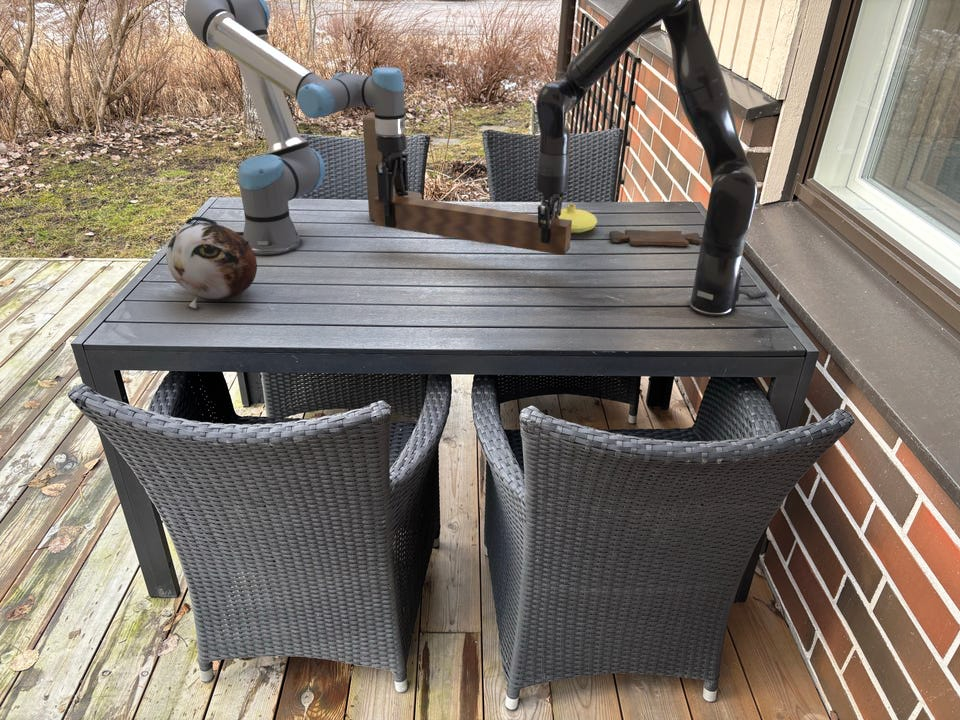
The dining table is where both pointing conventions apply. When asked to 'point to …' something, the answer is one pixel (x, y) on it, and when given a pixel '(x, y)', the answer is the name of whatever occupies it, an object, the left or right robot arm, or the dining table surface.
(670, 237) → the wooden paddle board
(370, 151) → the decorative block
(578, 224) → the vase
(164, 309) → the dining table surface
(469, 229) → the bar
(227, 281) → the cat face ball toy
